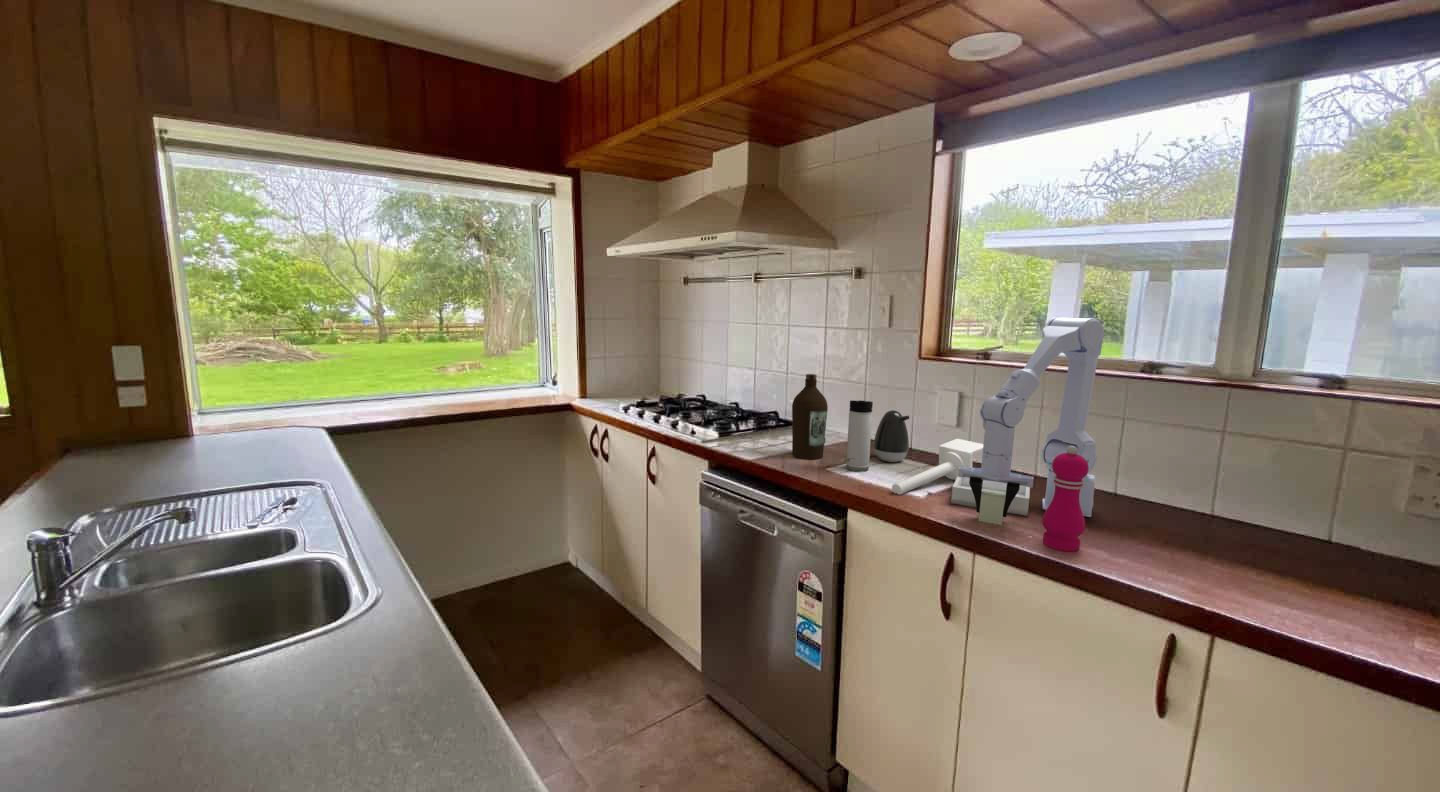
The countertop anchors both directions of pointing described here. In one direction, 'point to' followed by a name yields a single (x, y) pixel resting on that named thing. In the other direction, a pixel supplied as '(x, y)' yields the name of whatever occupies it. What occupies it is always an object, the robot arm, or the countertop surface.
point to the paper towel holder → (943, 464)
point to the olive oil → (809, 421)
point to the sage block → (992, 506)
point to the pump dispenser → (892, 437)
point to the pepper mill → (1066, 503)
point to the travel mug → (859, 435)
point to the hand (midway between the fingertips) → (991, 513)
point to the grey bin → (966, 497)
